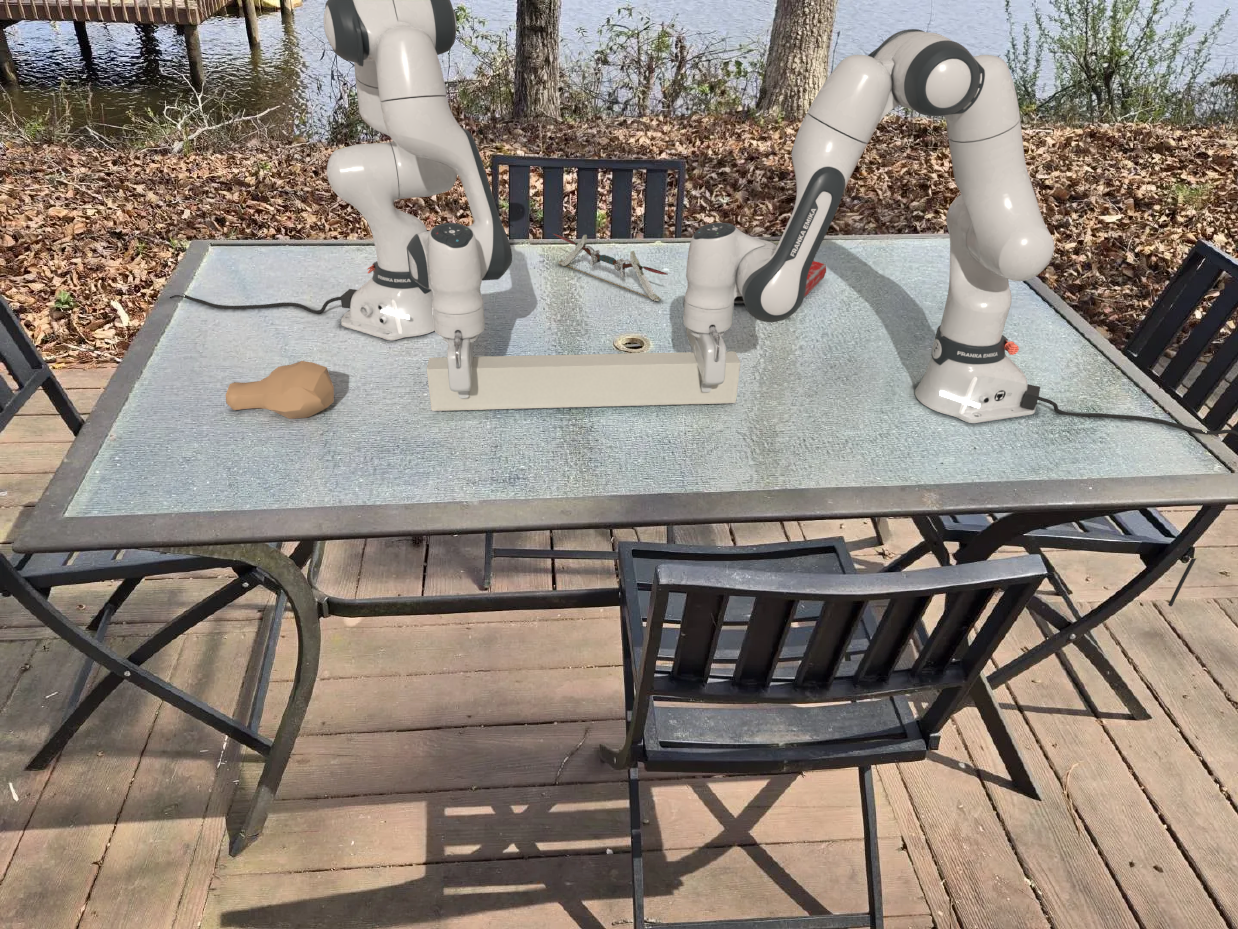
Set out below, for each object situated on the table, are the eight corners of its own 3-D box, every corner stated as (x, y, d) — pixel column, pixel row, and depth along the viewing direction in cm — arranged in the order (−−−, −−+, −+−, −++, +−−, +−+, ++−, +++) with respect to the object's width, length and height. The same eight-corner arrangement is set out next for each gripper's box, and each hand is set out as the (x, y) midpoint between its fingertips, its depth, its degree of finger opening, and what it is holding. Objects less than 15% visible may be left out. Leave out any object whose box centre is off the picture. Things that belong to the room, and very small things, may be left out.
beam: (431, 410, 161) (426, 369, 156) (433, 398, 164) (428, 357, 160) (735, 403, 166) (740, 362, 161) (731, 391, 169) (735, 351, 165)
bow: (669, 303, 208) (671, 262, 203) (664, 305, 207) (666, 264, 202) (556, 260, 230) (555, 222, 224) (551, 262, 228) (550, 224, 223)
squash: (333, 425, 159) (316, 386, 153) (227, 433, 161) (206, 395, 155) (347, 387, 167) (331, 349, 161) (246, 396, 169) (227, 358, 162)
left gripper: (475, 346, 145) (480, 417, 153) (478, 295, 162) (483, 361, 170) (436, 346, 145) (443, 418, 152) (444, 295, 161) (450, 362, 169)
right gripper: (737, 339, 149) (730, 409, 157) (714, 292, 166) (709, 357, 174) (700, 340, 149) (695, 411, 156) (681, 293, 165) (677, 358, 173)
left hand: (464, 388), depth 161 cm, fingers closed on beam, 4 cm apart
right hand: (702, 382), depth 165 cm, fingers closed on beam, 4 cm apart
